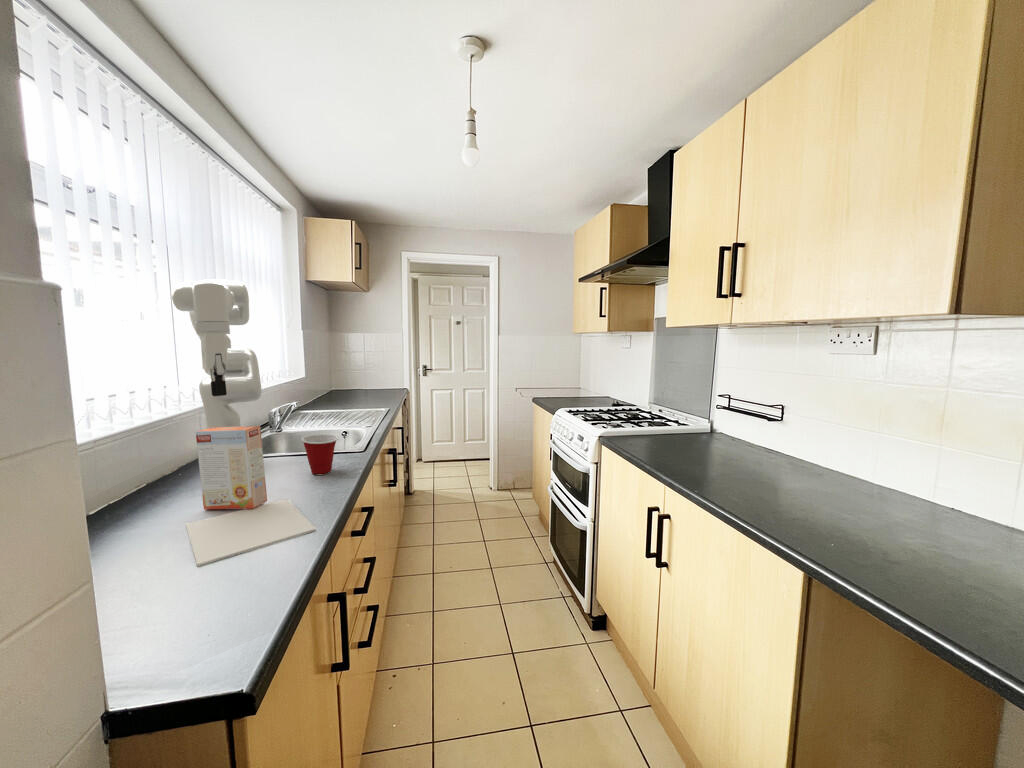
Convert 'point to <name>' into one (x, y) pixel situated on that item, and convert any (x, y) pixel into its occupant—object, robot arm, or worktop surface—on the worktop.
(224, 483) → the cracker box
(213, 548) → the mat
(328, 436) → the plastic cup
